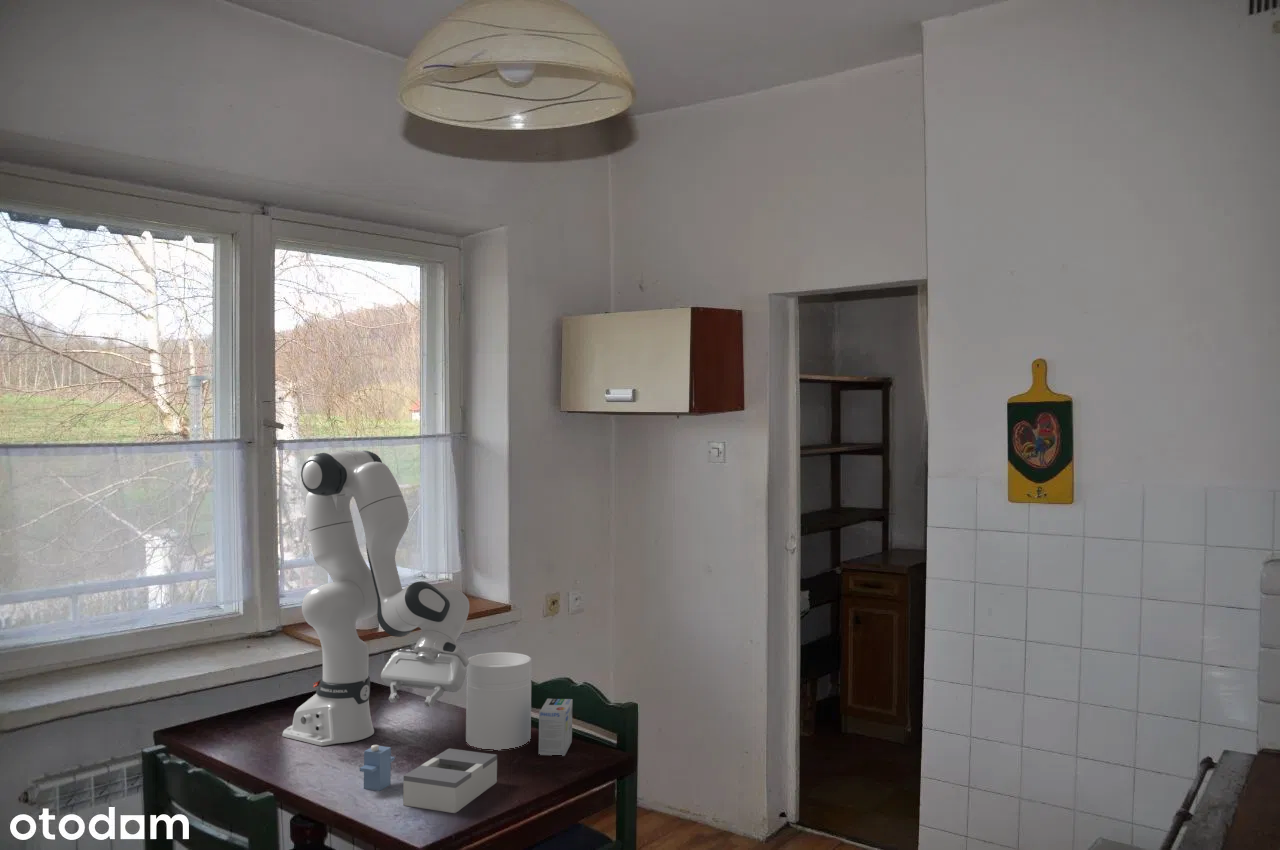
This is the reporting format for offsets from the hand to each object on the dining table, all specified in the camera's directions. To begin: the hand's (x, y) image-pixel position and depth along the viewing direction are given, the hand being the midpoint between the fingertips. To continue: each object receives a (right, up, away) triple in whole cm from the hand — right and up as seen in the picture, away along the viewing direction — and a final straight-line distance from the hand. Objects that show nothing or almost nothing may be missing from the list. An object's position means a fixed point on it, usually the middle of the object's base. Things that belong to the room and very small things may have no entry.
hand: (410, 703), depth 213 cm
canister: (+17, -15, +20) cm, 30 cm away
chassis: (+13, -14, -15) cm, 25 cm away
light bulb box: (+32, -15, +14) cm, 38 cm away
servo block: (-4, -14, -12) cm, 19 cm away
